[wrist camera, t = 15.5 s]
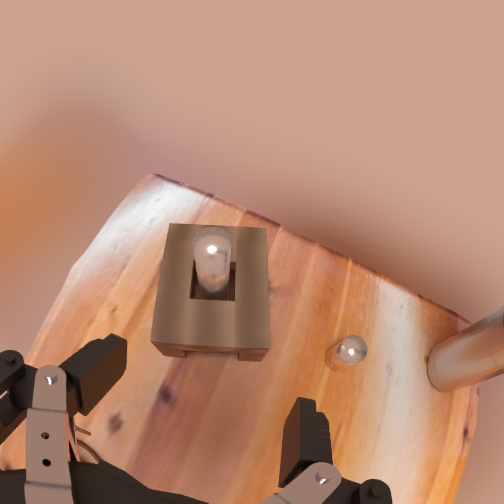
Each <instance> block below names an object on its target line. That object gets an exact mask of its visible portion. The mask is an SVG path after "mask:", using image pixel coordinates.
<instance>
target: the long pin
mask: <svg viewBox="0 0 504 504" xmlns="http://www.w3.org/2000/svg"><path fill="white" fill-rule="evenodd" d="M193 249H194V256H195V263H196V270H197V277H198V283H199V290H200V296H201V299H202V300H220V301H228V289H229V272H230V256H231V238H230V236H229V234H228V233H227V232H226V231H225V230H223V229H221V228H218V227H206V228H204V229H202V230H200V231H199V232H197V234H196V235H195V236H194V239H193Z"/></svg>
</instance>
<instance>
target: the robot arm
mask: <svg viewBox="0 0 504 504" xmlns="http://www.w3.org/2000/svg"><path fill="white" fill-rule="evenodd" d="M126 363H127V340H126V339H124V338H121V337H119V336H117V335H115V334H113V333H111V334H110V335H108V336H107V337H106V338H105V339H103V340H102V339H100V338H99V339H96V340H93V341H90V342H89V343H87V344H86V345H85V346H84V347H83V348H81V349H80V350H78V352H76V353H75V354H73V355H72V356H71V357H69V358H68V359H67V360H66V361H64V362H63V363H62V364H61V365H59V366H58V367H57V366H53V365H46V366H43V367H41V368H39V369H37V368H34V367H32V366H29V365H26V364H24V360H23V356H22V355H21V354H20V353H19V352H17V351H14V350H6V351H3V352H1V353H0V395H2V394H3V393H4V392H5V391H6V390H7V393H6V394H5V395H4V396H3V397H2V398H1V399H0V445H1V444H2V443H3V442H4V441H5V440H6V438H7V437H8V436H9V435H10V434H11V433H12V432H13V431H14V430H15V429H16V428H17V427H18V426H19V424H20V423H21V422H22V421H23V420H24V419H25V418H26V417H27V422H26V469H17V470H4V471H0V504H208V503H207V502H203V501H200V500H196V499H193V498H190V497H187V496H184V495H181V494H175V493H168V492H163V491H157V490H152V489H149V488H147V487H146V486H144V485H143V484H142V483H140V482H139V481H137V480H136V479H135V478H133V477H132V476H131V475H129V474H128V473H127V472H125V471H123V470H121V469H119V468H117V467H115V466H113V465H111V464H109V463H108V462H106V461H104V460H102V459H101V460H100V462H99V463H98V464H95V463H90V462H83V461H80V457H79V453H78V447H77V439H76V429H75V418H74V415H75V414H76V413H77V412H79V413H81V414H82V415H84V416H87V415H88V413H89V412H90V411H91V410H92V409H93V408H94V407H95V406H96V405H97V403H98V402H99V401H100V400H101V399H102V398H103V397H104V396H105V395H106V393H107V392H108V391H109V390H110V389H111V388H112V387H113V386H114V385H115V383H116V382H117V381H118V380H119V379H120V378H121V377H122V376H123V374H124V372H125V369H126ZM427 370H428V376H429V379H430V381H431V383H432V385H433V386H434V387H435V388H436V389H437V390H439V391H441V392H449V391H452V390H456V389H459V388H463V387H466V386H470V385H473V384H476V383H479V382H482V381H485V380H488V379H490V378H493V377H496V376H498V375H501V374H504V306H502V307H501V308H499V309H497V310H496V311H494V312H493V313H491V314H490V315H488V316H487V317H485V318H483V319H482V320H480V321H478V322H477V323H475V324H473V325H471V326H470V327H468V328H466V329H464V330H463V331H461V332H459V333H457V334H455V335H453V336H451V337H449V338H448V339H446V340H444V341H442V342H440V343H438V344H436V345H435V346H434V347H433V349H432V350H431V352H430V354H429V357H428V363H427ZM278 487H280V488H283V489H282V490H280V491H279V492H278V493H274V494H272V495H271V496H269V497H268V498H266V499H265V500H264V501H262V502H261V503H259V504H392V497H391V491H390V488H389V487H388V485H387V484H386V483H384V482H383V481H381V480H377V479H369V480H366V481H365V482H363V483H362V484H359V483H356V482H353V481H350V480H347V479H345V478H343V477H341V474H340V472H339V470H338V469H337V468H336V467H334V466H333V460H332V449H331V439H330V432H329V421H328V420H327V418H326V416H325V415H324V413H322V412H316V402H315V400H312V399H307V398H302V397H298V398H297V400H296V402H295V404H294V406H293V408H292V410H291V412H290V414H289V415H288V417H287V419H286V422H285V425H284V429H283V440H282V453H281V464H280V475H279V485H278Z"/></svg>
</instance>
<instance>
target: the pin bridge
mask: <svg viewBox="0 0 504 504" xmlns="http://www.w3.org/2000/svg"><path fill="white" fill-rule="evenodd" d="M206 227H218V228H221V229H223V230H225V231H226V232H227V233H228V234H229V236H230V238H231V256H230V272H229V273H235V284H234V301H220V300H202V299H193V289H194V279H195V271H197V270H196V263H195V256H194V249H193V239H194V236H195V235H196V234H197V232H199V231H200V230H202V229H204V228H206ZM151 342H152V343H153V344H154V346H155V347H156V348H157V349H158V350H159V351H160V352H161V353H162V354H163V355H164V356H171V357H182V358H186V350H189V351H203V352H222V353H238V361H261V360H262V359H263V357H264V356H265V354H266V353H267V352H268V350H269V349H270V325H269V289H268V258H267V231H266V228H253V227H235V226H216V225H196V224H173V223H170V224H169V229H168V234H167V239H166V244H165V249H164V255H163V260H162V265H161V271H160V277H159V283H158V289H157V296H156V302H155V309H154V317H153V324H152V332H151Z"/></svg>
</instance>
